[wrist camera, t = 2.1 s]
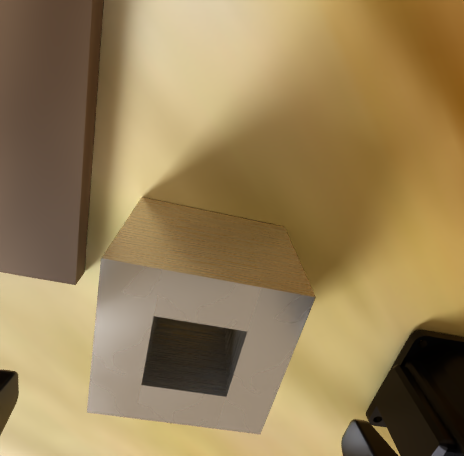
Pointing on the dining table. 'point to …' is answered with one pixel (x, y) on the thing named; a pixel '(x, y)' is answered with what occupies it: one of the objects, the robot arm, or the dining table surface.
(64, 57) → the post base
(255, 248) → the grey block
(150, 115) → the dining table surface
